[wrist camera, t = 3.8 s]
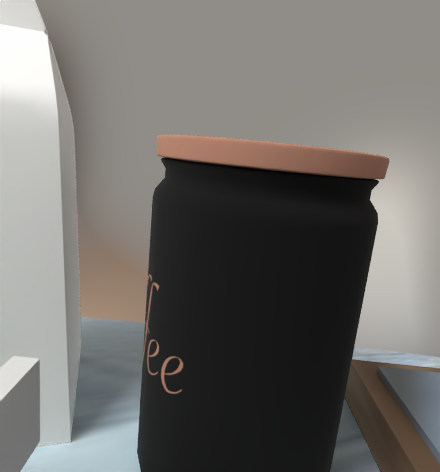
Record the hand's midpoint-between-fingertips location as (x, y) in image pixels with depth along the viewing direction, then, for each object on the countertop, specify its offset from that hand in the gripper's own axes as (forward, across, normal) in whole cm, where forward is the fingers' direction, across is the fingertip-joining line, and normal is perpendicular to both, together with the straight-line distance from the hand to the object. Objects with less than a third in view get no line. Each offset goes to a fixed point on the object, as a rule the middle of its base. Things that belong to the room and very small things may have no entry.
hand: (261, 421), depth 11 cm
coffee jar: (+9, 0, -10) cm, 14 cm away
